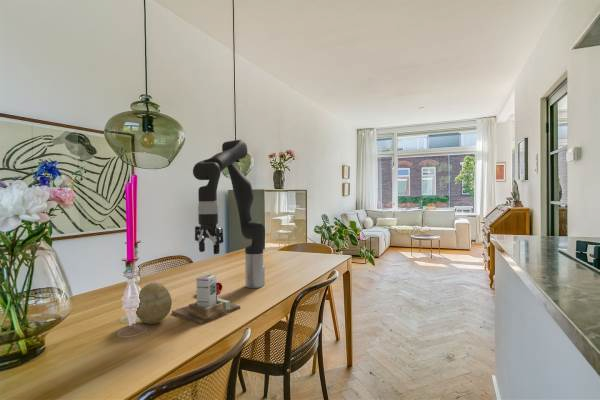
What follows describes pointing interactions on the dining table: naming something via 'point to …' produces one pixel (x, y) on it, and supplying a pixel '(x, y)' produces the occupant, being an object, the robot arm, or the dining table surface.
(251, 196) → the robot arm
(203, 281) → the syrup box
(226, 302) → the bar
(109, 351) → the dining table surface
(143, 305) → the fossilized egg
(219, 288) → the alarm clock
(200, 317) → the housing
